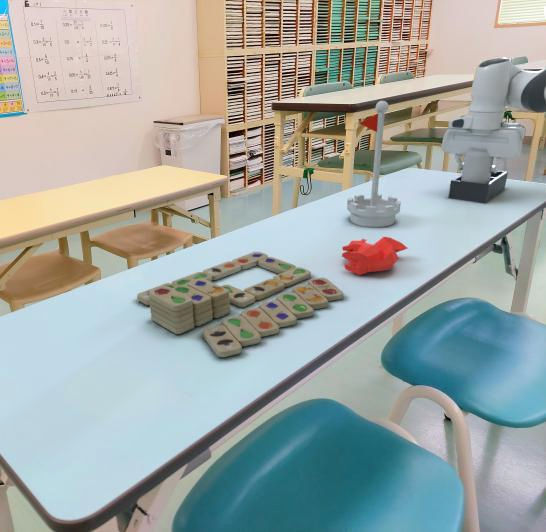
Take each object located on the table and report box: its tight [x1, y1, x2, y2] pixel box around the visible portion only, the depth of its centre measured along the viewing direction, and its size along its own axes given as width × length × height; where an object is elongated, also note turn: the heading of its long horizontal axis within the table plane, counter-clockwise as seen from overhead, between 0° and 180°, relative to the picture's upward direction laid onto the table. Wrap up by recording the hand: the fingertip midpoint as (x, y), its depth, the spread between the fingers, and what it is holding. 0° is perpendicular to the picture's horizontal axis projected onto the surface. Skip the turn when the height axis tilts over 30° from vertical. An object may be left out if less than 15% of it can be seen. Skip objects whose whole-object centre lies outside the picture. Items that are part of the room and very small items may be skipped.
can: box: [461, 148, 495, 184], centre depth 149 cm, size 8×8×12 cm
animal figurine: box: [341, 236, 409, 276], centre depth 108 cm, size 12×15×5 cm
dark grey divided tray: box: [448, 170, 509, 204], centre depth 154 cm, size 10×19×5 cm, turn 138°
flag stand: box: [346, 100, 402, 228], centre depth 130 cm, size 13×13×30 cm
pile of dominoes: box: [136, 251, 344, 358], centre depth 95 cm, size 35×27×6 cm
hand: (476, 171), depth 149 cm, fingers closed on can, 7 cm apart
